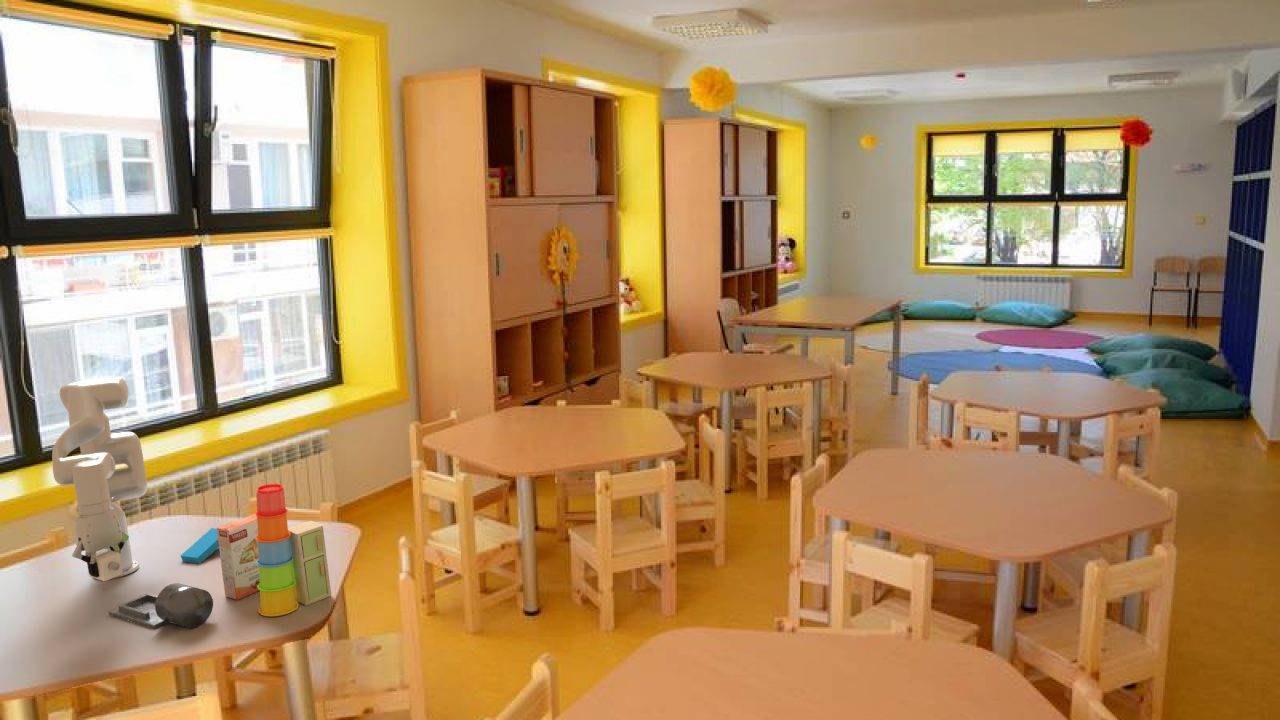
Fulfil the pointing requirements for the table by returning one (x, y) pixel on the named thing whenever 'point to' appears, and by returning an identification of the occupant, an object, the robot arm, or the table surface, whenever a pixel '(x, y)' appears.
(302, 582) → the toy refrigerator
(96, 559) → the block
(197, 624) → the electric bell
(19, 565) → the table surface
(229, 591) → the cracker box
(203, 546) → the blue ramp
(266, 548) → the stacking cups
